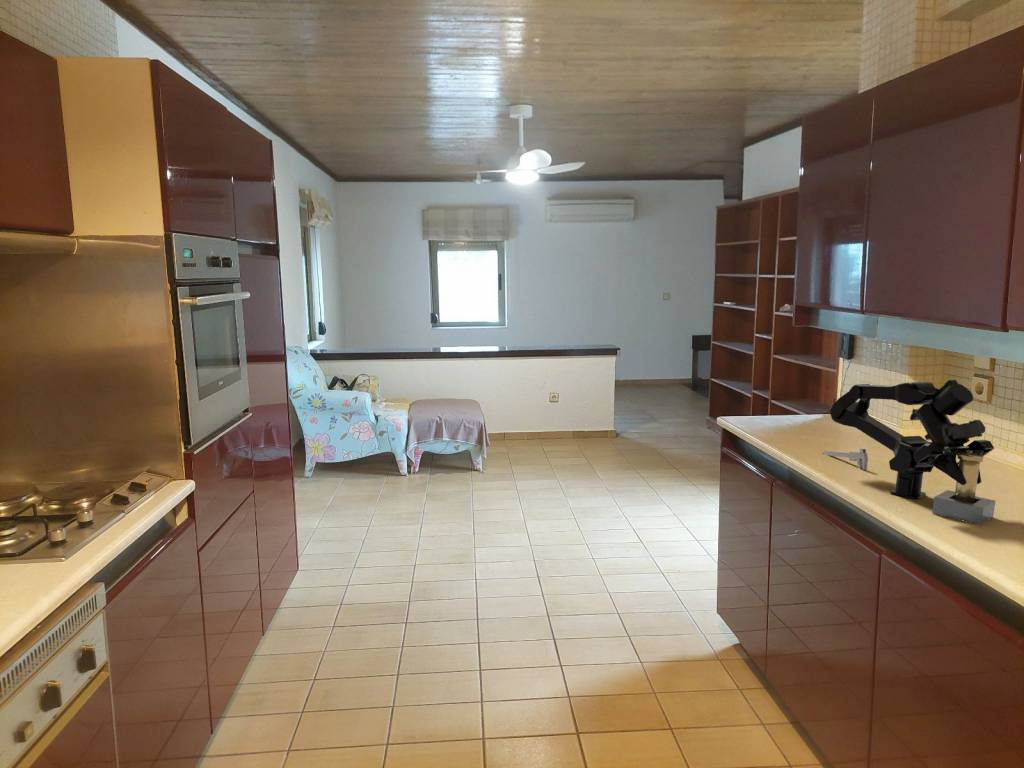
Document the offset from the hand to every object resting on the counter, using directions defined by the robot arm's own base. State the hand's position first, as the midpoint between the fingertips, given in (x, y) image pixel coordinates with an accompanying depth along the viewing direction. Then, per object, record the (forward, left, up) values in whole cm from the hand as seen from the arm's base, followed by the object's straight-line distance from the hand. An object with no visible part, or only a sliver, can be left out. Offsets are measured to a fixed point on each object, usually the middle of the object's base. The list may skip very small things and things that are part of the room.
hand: (971, 483), depth 166 cm
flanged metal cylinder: (-1, -1, -7) cm, 7 cm away
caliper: (-28, -41, -9) cm, 50 cm away
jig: (-1, -1, -8) cm, 8 cm away
